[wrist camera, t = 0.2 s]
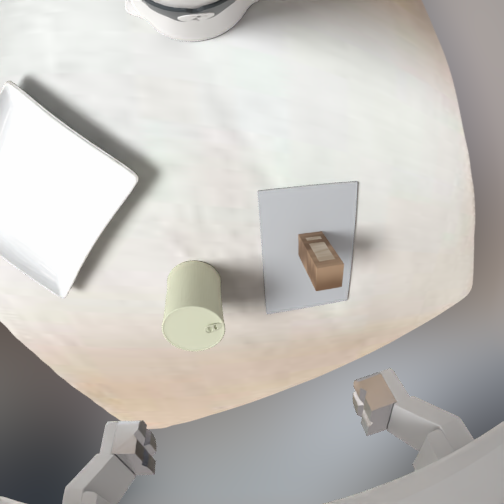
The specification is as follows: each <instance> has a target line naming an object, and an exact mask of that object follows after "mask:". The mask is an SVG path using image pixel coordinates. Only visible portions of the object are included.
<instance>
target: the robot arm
mask: <svg viewBox="0 0 504 504" xmlns="http://www.w3.org/2000/svg"><path fill="white" fill-rule="evenodd" d="M257 1H258V0H126V2H125V9H126V11H127V12H128V13H129V14H131V15H133V16H136V17H139V18H142V19H144V20H146V21H147V22H148V23H149V24H150V25H151V26H152V27H153V28H154V29H155V30H156V31H158V32H159V33H161V34H162V35H164V36H166V37H169V38H171V39H175V40H179V41H190V42H192V41H202V40H207V39H211V38H214V37H216V36H219V35H221V34H223V33H225V32H226V31H228V30H229V29H231V28H232V27H233V26H234V25H235V24H236V23H237V22H238V21H239V20H240V19H241V18H242V16H243V15H244V13H245V12H246V10H247V9H248V7H249V6H250V5H252V4H253V3H255V2H257ZM354 389H355V391H354V393H353V404H354V407H355V410H356V413H357V415H359V416H361V417H362V421H361V424H362V426H363V428H364V431H365V433H366V435H367V436H368V435H372V434H375V433H378V432H381V431H384V430H386V429H387V431H389V432H390V433H392V434H393V435H395V436H396V437H398V438H399V439H401V440H402V441H404V442H405V443H407V444H408V445H410V446H412V447H413V448H415V449H416V450H418V451H419V453H418V455H417V457H416V459H415V461H414V463H413V464H412V465H413V467H414V469H415V471H414V472H412V473H410V474H408V475H405V476H403V477H401V478H398V479H396V480H393V481H391V482H388V483H386V484H383V485H380V486H378V487H375V488H372V489H369V490H367V491H364V492H361V493H358V494H355V495H352V496H348V497H345V498H342V499H338V500H335V501H331V502H328V503H325V504H504V421H503V422H502V423H500V424H499V425H497V426H496V427H494V428H493V429H491V430H490V431H488V432H487V433H485V434H483V435H482V436H480V437H479V438H477V439H475V440H474V439H473V437H472V436H471V434H470V432H469V431H468V429H467V428H466V426H465V425H464V423H463V422H462V420H461V419H460V417H458V416H456V415H453V414H451V413H449V412H447V411H444V410H442V409H440V408H438V407H436V406H434V405H431V404H429V403H427V402H425V401H423V400H421V399H419V398H416V397H414V396H412V397H410V396H409V395H408V393H407V392H406V390H405V388H404V387H403V385H402V383H401V382H400V380H399V379H398V377H397V375H396V374H395V372H394V371H393V370H392V369H391V368H390V369H387V370H384V371H381V372H379V373H375V374H372V375H369V376H366V377H363V378H360V379H357V380H355V381H354ZM146 426H147V425H146V424H145V422H144V421H143V420H142V421H112V422H107V424H106V426H105V430H104V435H103V440H102V445H101V450H100V454H96V455H95V456H94V457H93V459H92V460H91V461H90V462H89V463H88V464H87V465H86V466H85V467H84V468H83V469H82V470H81V471H80V472H79V474H78V475H77V476H76V477H75V478H74V479H73V480H72V481H71V482H70V483H69V484H68V485H67V486H66V488H65V492H64V497H63V502H62V504H118V503H119V501H120V500H121V498H122V497H123V495H124V494H125V492H126V490H127V489H128V487H129V486H130V485H131V483H132V482H133V480H134V479H135V477H136V475H154V474H155V462H156V461H155V460H154V458H153V457H152V456H153V455H154V453H156V440H155V437H154V435H153V433H152V432H151V431H150V430H148V429H146ZM0 504H25V503H21V502H18V501H15V500H12V499H9V498H6V497H1V496H0Z"/></svg>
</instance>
